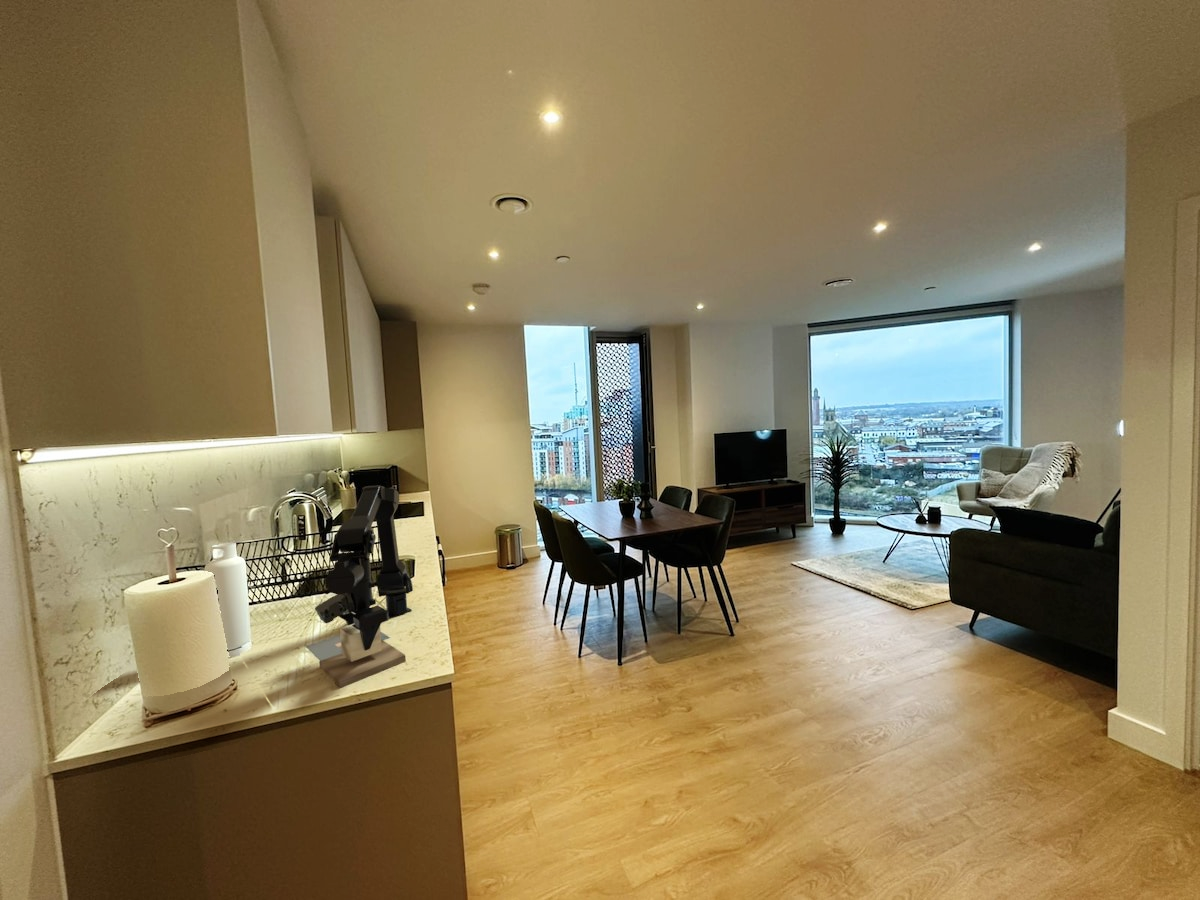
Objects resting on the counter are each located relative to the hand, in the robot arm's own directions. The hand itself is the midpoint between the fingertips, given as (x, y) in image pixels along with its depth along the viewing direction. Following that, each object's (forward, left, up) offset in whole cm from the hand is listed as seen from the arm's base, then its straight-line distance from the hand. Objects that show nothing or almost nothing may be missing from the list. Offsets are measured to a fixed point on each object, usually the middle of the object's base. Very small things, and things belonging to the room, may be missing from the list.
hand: (361, 645), depth 104 cm
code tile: (-16, +2, -4) cm, 17 cm away
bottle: (-36, -19, -5) cm, 41 cm away
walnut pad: (0, 0, -4) cm, 5 cm away
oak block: (0, 0, -2) cm, 2 cm away
